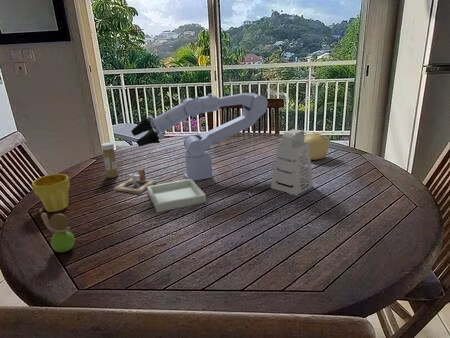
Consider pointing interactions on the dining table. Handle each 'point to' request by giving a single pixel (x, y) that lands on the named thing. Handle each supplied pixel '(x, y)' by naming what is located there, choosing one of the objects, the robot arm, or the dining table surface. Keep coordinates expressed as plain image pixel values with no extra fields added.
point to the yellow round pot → (317, 145)
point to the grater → (292, 163)
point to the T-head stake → (134, 179)
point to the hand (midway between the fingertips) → (135, 138)
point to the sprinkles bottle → (109, 159)
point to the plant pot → (52, 191)
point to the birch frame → (141, 180)
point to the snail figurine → (59, 232)
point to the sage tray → (175, 195)
